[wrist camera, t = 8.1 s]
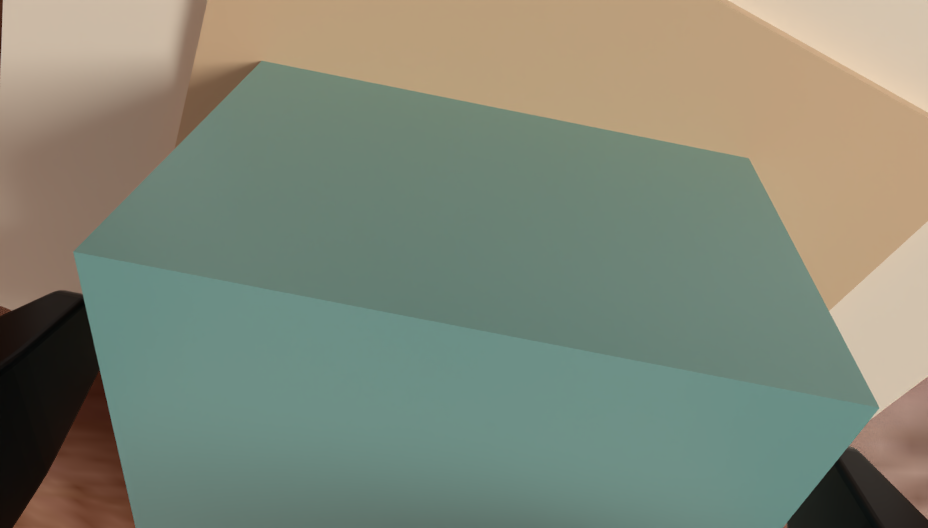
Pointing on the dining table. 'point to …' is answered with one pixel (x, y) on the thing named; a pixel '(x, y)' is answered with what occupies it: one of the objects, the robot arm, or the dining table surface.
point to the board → (512, 88)
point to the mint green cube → (457, 324)
